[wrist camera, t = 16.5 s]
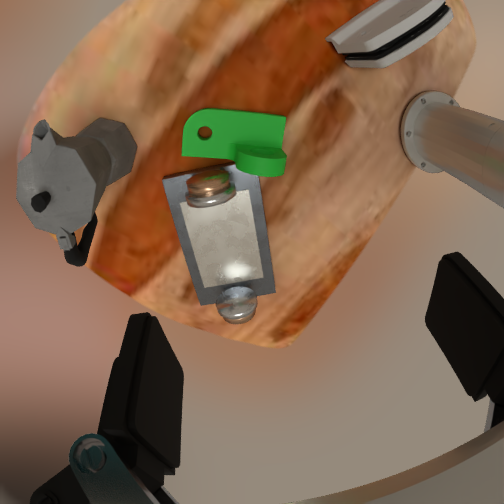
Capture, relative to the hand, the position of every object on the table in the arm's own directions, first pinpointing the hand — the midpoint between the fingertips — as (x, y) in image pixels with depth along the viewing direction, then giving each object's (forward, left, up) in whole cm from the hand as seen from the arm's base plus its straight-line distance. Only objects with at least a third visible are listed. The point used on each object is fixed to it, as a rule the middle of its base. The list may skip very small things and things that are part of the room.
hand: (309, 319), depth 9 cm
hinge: (-20, -14, -33) cm, 41 cm away
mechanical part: (+1, 0, -33) cm, 33 cm away
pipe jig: (+5, +14, -32) cm, 36 cm away
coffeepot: (+18, -1, -32) cm, 37 cm away
